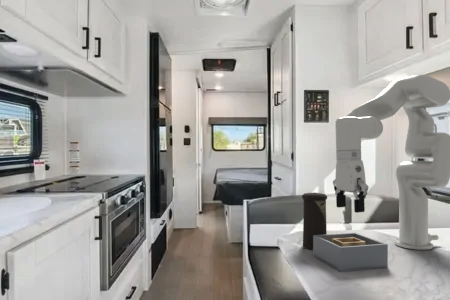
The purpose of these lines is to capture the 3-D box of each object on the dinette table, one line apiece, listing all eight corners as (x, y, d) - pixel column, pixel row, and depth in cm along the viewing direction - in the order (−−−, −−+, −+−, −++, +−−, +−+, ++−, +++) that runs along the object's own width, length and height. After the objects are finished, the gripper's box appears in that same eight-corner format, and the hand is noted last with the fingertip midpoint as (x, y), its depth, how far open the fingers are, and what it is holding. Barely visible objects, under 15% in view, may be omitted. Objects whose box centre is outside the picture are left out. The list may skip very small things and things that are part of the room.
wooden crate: (353, 255, 115) (353, 237, 115) (365, 260, 109) (365, 241, 109) (332, 257, 113) (332, 238, 113) (342, 262, 107) (342, 243, 107)
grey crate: (355, 253, 121) (355, 232, 121) (387, 267, 105) (387, 244, 106) (313, 256, 117) (313, 235, 117) (340, 272, 101) (340, 247, 101)
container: (328, 251, 123) (328, 194, 123) (302, 249, 125) (302, 193, 125) (326, 245, 131) (326, 191, 132) (301, 243, 133) (301, 191, 133)
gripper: (377, 155, 104) (378, 213, 104) (343, 155, 121) (344, 204, 121) (354, 156, 102) (356, 215, 102) (323, 155, 119) (325, 206, 119)
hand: (350, 209), depth 112 cm, fingers open, 9 cm apart
